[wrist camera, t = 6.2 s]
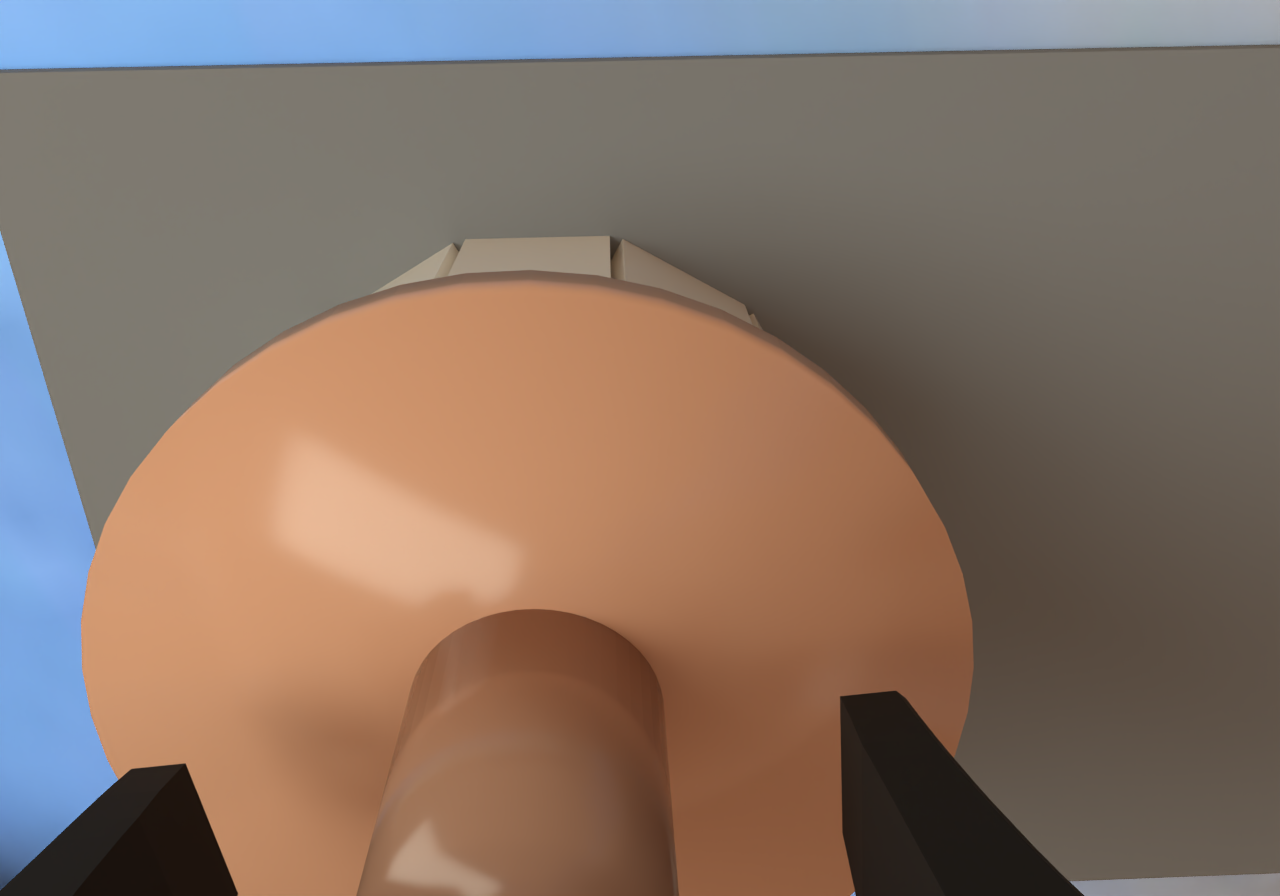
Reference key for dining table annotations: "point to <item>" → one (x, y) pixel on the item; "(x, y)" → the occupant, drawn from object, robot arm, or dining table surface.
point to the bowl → (570, 265)
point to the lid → (521, 599)
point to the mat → (794, 331)
